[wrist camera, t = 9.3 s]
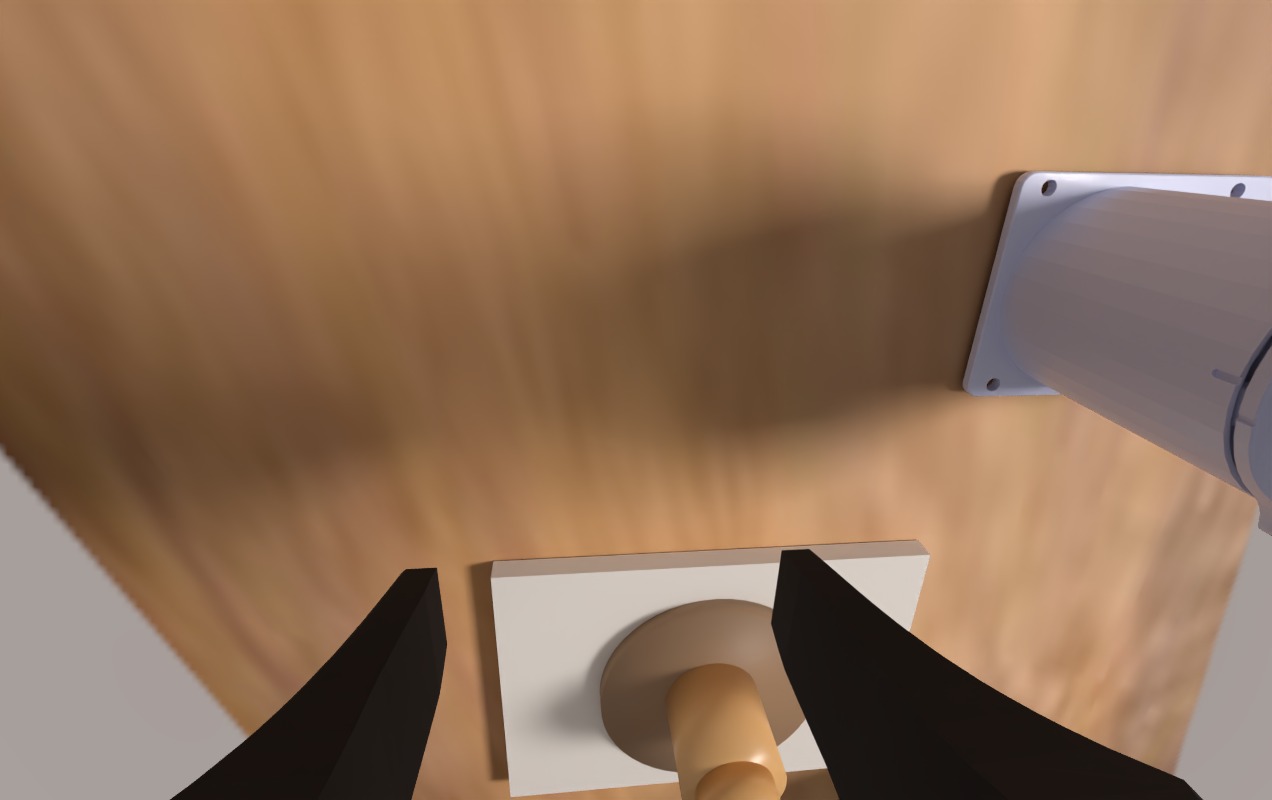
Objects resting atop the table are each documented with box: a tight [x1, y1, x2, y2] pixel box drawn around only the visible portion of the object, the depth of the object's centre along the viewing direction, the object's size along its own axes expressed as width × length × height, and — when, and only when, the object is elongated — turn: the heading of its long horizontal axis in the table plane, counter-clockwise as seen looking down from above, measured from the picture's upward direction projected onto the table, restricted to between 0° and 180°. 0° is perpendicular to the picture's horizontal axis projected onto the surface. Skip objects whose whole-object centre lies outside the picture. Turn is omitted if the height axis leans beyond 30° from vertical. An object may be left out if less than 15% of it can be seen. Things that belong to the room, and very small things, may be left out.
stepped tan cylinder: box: [666, 663, 787, 800], centre depth 24 cm, size 4×4×6 cm
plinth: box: [491, 540, 930, 797], centre depth 27 cm, size 18×13×2 cm
